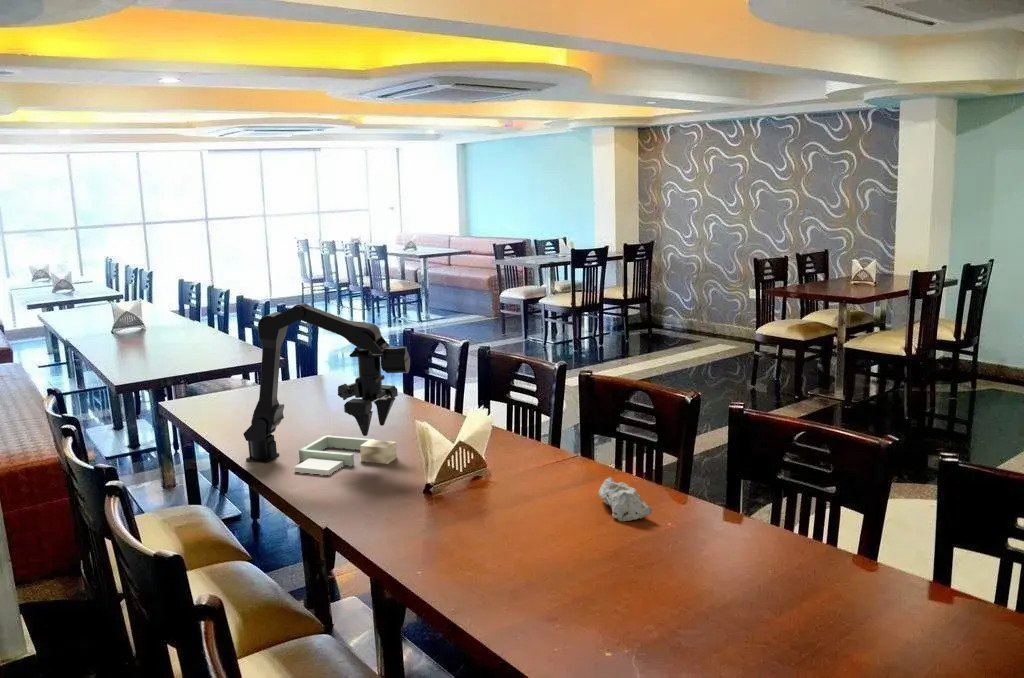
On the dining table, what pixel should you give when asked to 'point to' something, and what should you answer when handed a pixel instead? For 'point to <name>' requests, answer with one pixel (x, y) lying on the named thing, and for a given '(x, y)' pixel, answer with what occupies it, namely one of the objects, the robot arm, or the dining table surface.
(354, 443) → the shelf bay
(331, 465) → the stand
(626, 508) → the rock
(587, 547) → the dining table surface
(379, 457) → the block
